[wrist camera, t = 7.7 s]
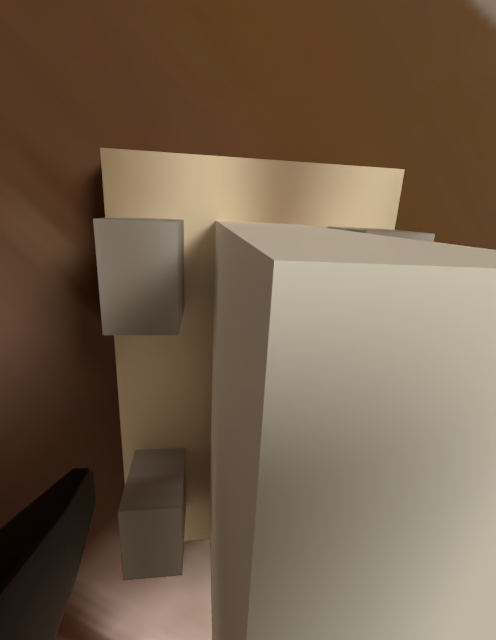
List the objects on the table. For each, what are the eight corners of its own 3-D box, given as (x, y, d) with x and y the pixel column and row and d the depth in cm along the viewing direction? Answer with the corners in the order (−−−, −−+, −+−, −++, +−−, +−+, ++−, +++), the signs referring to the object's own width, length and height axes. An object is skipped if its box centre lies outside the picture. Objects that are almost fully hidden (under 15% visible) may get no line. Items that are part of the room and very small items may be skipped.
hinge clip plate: (382, 174, 13) (468, 155, 9) (332, 503, 18) (373, 594, 14) (112, 155, 12) (61, 123, 8) (135, 516, 17) (112, 622, 12)
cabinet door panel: (302, 224, 12) (686, 275, 2) (276, 500, 15) (391, 955, 6) (215, 220, 12) (273, 259, 2) (209, 504, 15) (220, 999, 6)
